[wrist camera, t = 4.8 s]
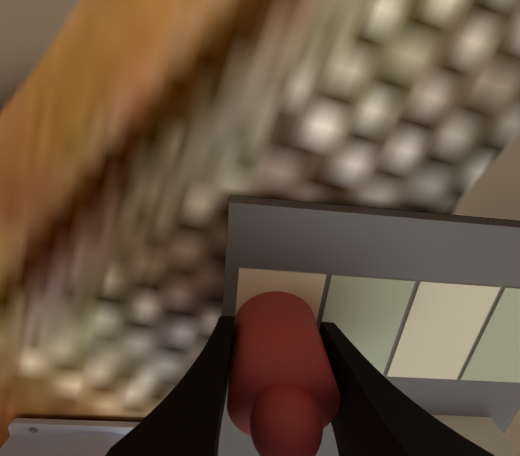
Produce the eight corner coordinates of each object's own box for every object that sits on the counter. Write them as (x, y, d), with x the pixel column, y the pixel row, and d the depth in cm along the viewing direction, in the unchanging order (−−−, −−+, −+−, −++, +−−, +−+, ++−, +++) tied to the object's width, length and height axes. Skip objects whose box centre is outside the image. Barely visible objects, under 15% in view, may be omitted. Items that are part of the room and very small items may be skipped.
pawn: (230, 355, 14) (217, 503, 8) (236, 288, 12) (226, 414, 7) (307, 359, 14) (343, 505, 9) (322, 294, 13) (374, 420, 7)
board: (214, 459, 19) (212, 482, 18) (231, 195, 12) (228, 202, 11) (458, 466, 20) (471, 487, 19) (595, 227, 13) (629, 237, 12)
